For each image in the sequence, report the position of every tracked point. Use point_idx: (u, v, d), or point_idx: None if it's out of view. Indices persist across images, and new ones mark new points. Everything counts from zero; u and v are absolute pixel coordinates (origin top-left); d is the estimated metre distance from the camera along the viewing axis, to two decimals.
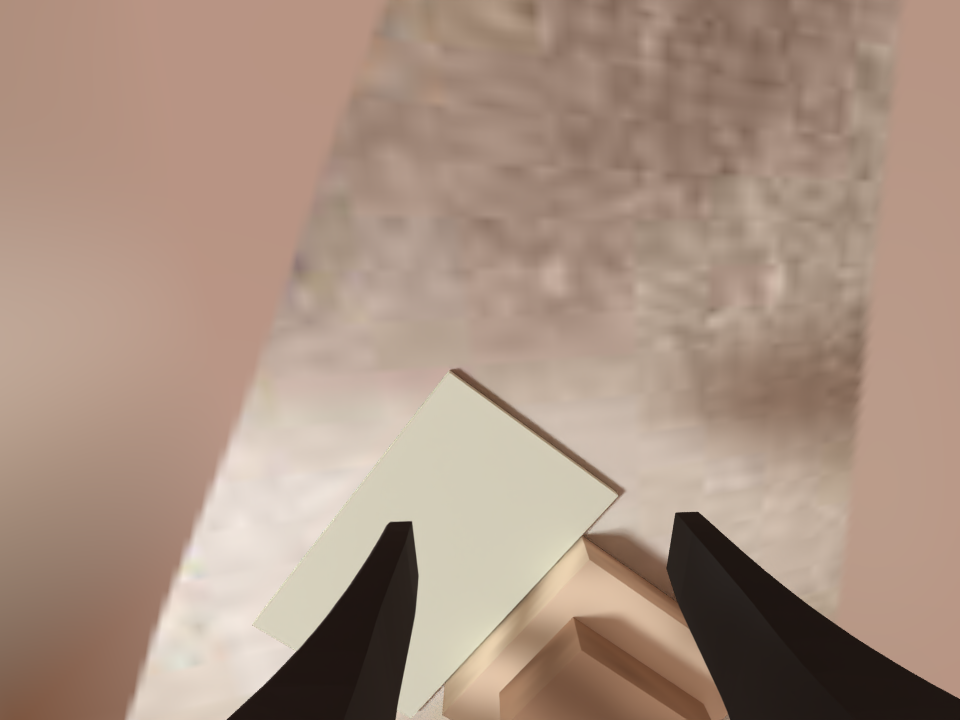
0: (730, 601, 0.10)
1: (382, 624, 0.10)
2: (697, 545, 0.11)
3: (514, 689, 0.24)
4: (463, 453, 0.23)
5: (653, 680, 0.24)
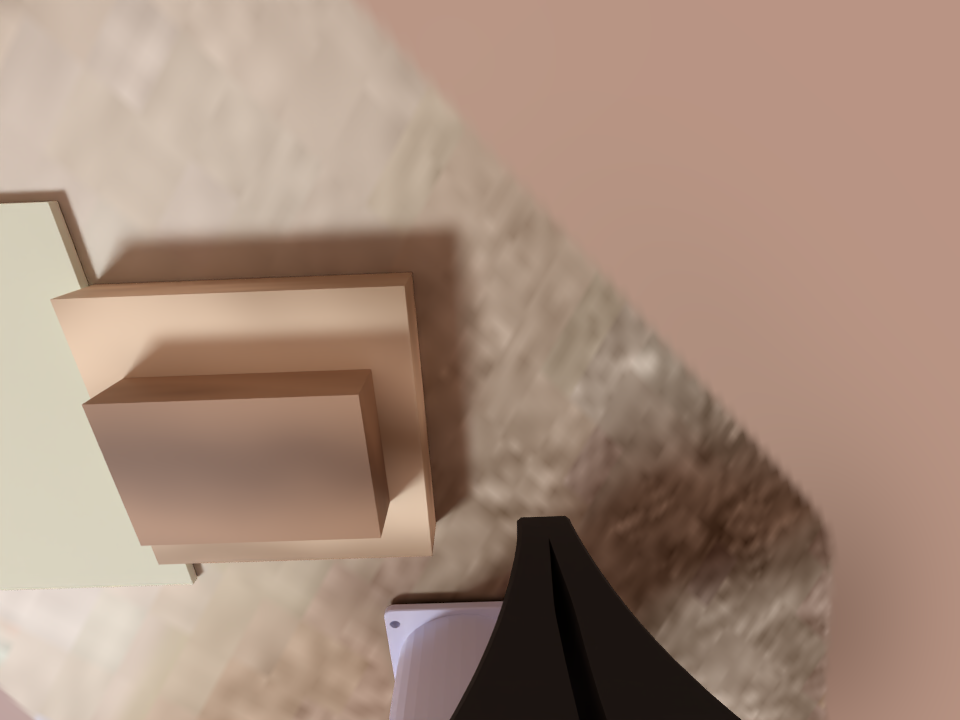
0: (566, 606, 0.10)
1: None
2: (551, 550, 0.11)
3: None
4: None
5: (253, 382, 0.17)
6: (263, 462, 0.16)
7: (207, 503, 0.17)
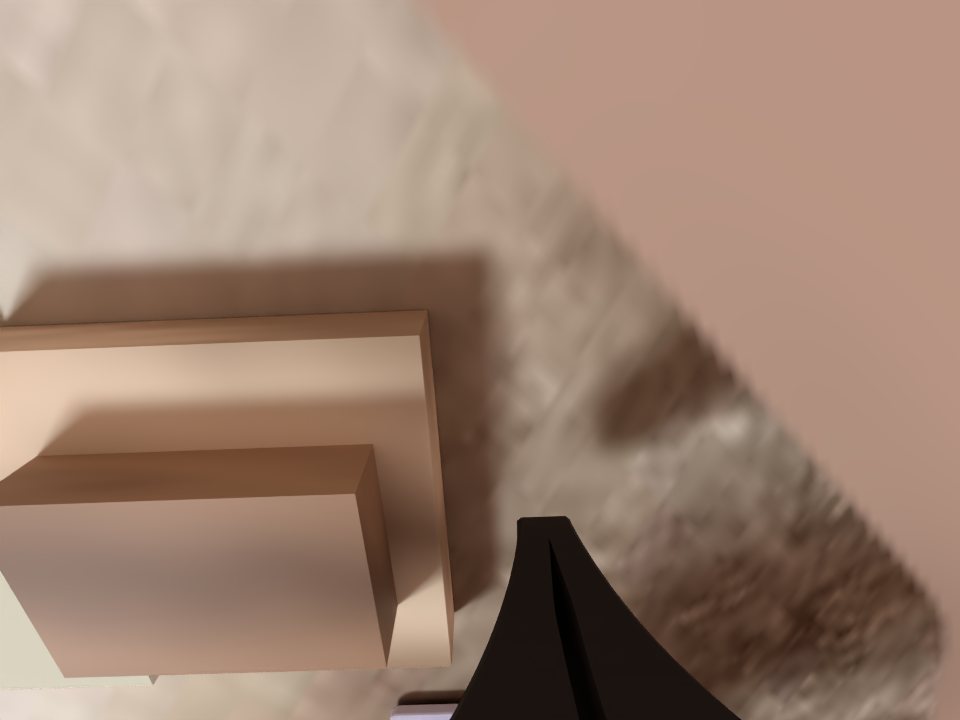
0: (566, 606, 0.10)
1: None
2: (551, 550, 0.11)
3: None
4: None
5: (209, 467, 0.12)
6: (223, 578, 0.12)
7: (150, 628, 0.12)
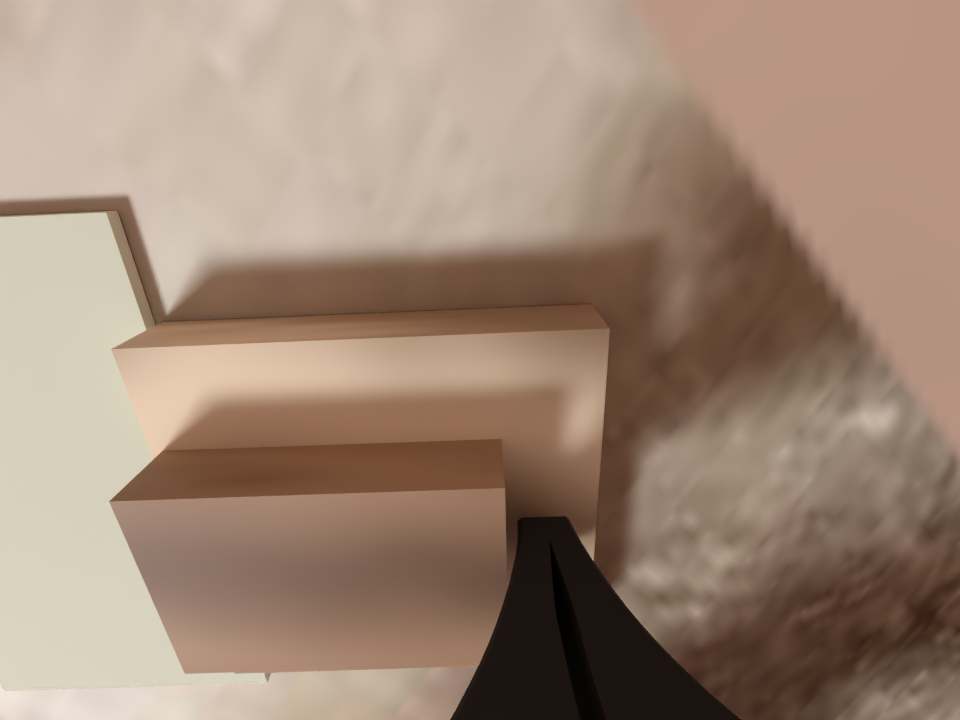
0: (566, 606, 0.10)
1: None
2: (551, 550, 0.11)
3: None
4: None
5: (344, 461, 0.12)
6: (359, 573, 0.12)
7: (278, 623, 0.12)
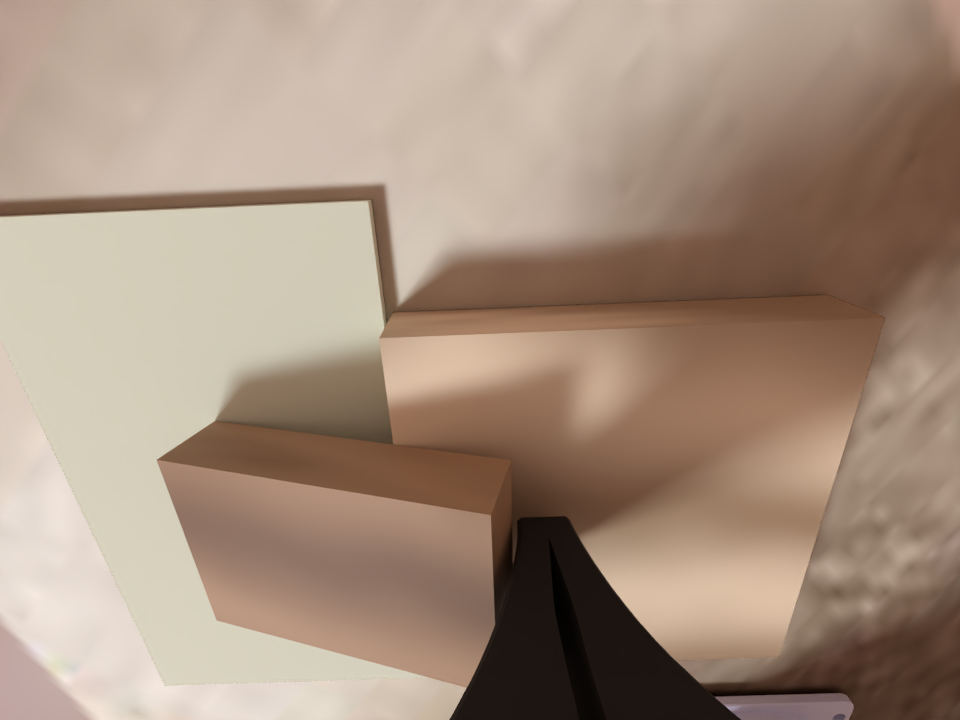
0: (566, 606, 0.10)
1: None
2: (551, 550, 0.11)
3: None
4: (105, 325, 0.13)
5: (353, 457, 0.12)
6: (354, 568, 0.12)
7: (286, 597, 0.13)
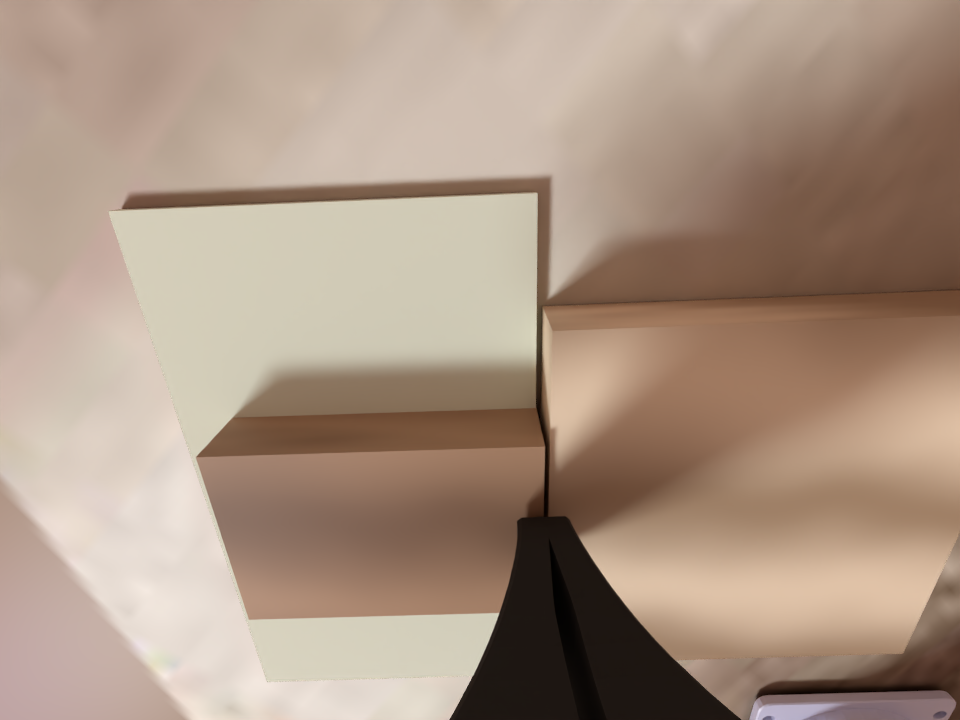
0: (566, 606, 0.10)
1: None
2: (551, 549, 0.11)
3: None
4: (256, 318, 0.13)
5: (398, 426, 0.13)
6: (412, 524, 0.13)
7: (336, 572, 0.14)
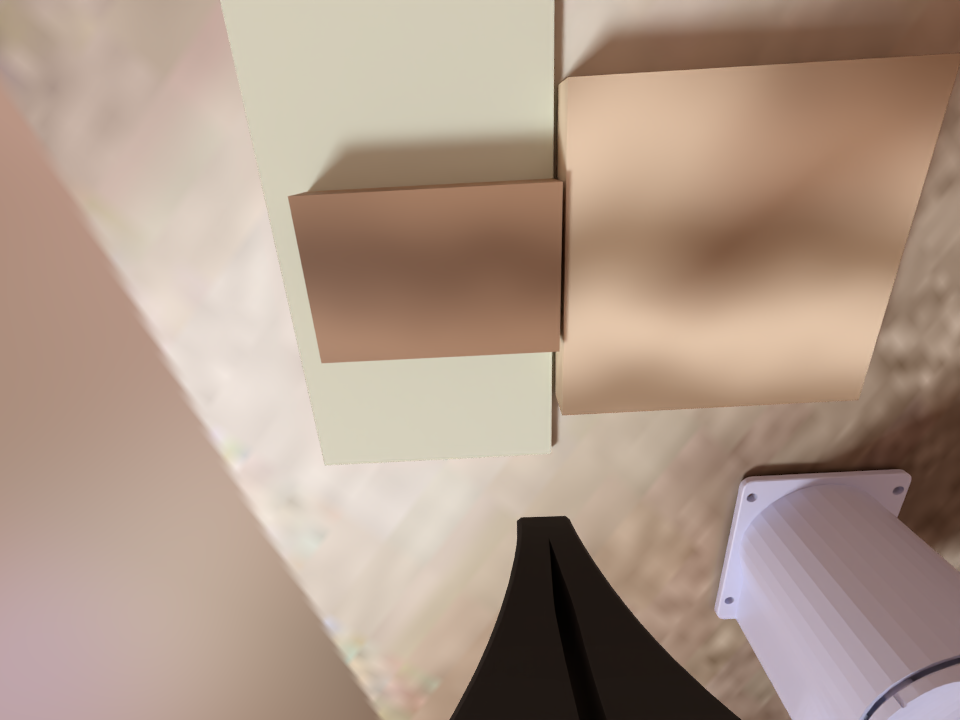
0: (566, 606, 0.10)
1: None
2: (551, 550, 0.11)
3: None
4: (330, 94, 0.16)
5: (444, 185, 0.17)
6: (456, 262, 0.17)
7: (394, 312, 0.17)
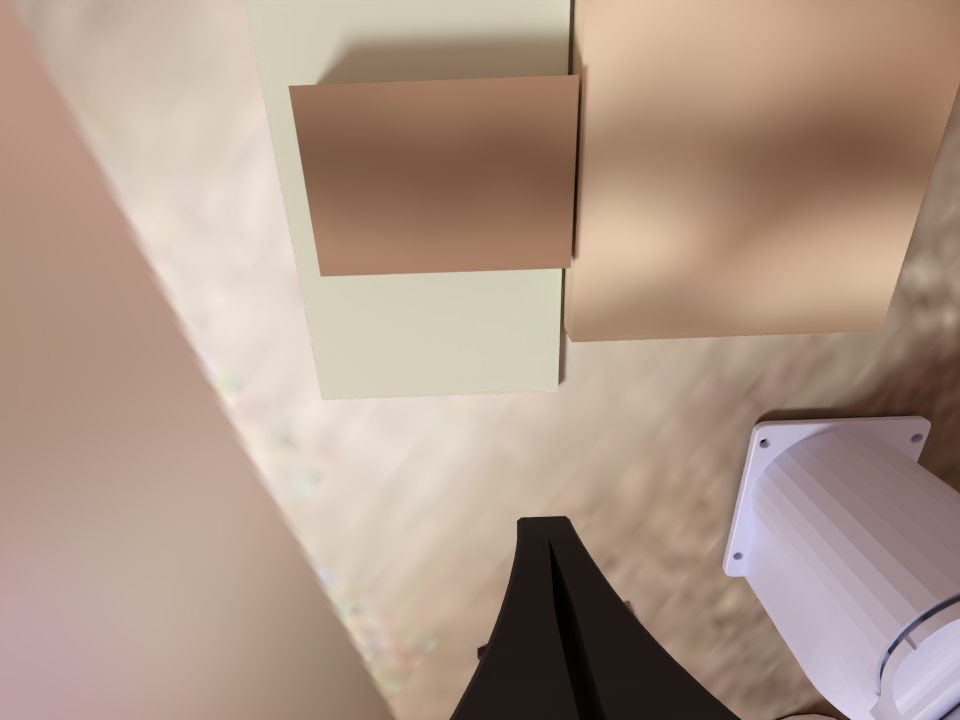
0: (566, 606, 0.10)
1: None
2: (551, 550, 0.11)
3: None
4: None
5: None
6: (465, 164, 0.16)
7: (398, 220, 0.16)
